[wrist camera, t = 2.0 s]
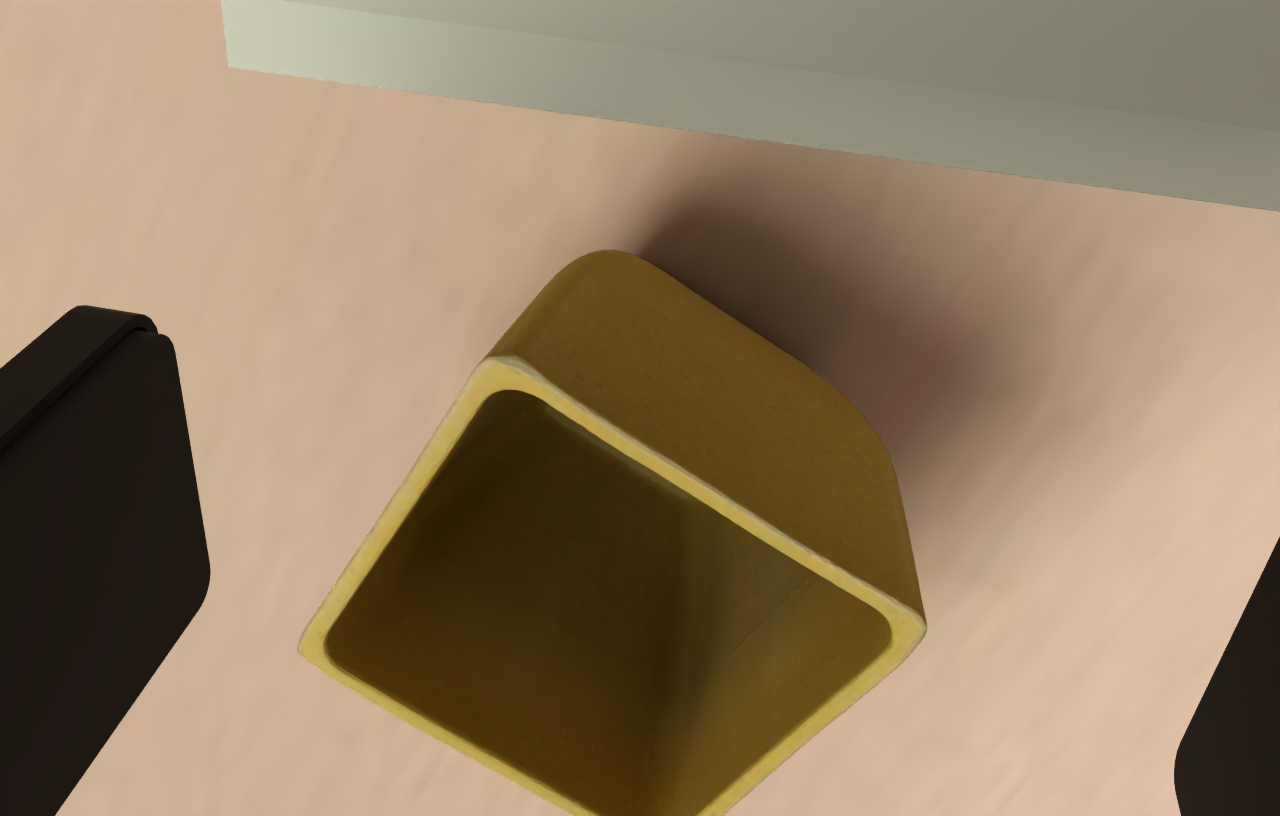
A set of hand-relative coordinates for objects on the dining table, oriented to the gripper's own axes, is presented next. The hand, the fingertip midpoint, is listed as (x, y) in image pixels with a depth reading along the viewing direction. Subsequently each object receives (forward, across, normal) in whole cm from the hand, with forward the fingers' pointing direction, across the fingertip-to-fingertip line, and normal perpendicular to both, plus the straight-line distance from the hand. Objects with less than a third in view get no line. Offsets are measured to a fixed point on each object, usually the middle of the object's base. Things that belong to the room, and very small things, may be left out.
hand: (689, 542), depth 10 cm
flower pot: (+17, +2, +9) cm, 19 cm away
